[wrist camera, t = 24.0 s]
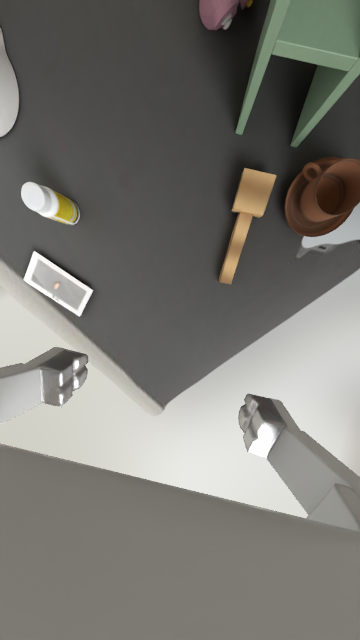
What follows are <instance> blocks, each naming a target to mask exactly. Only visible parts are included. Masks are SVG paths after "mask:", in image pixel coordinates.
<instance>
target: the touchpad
mask: <svg viewBox="0 0 360 640" xmlns="http://www.w3.org/2000/svg"><path fill="white" fill-rule="evenodd" d="M24 281H25V282H27V283H28V284H30V285H31V286H33V287H34V288H36V289H38V290H39V291H41V292H42V293H44V294H45V295H47V296H48V297H50V298H52V299H53V300H55V301H56V302H58V303H59V304H61V305H62V306H64V307H65V308H67V309H69V310H70V311H72V312H73V313H75V314H76V315H78V316H79V317H80V315H81V313H82V311H83V309H84V307H85V306H86V304H87V302H88V300H89V298H90V296H91V294H92V292H93V290H92V289H90V288H89V287H87V286H86V285H84V284H83V283H81V282H80V281H78V280H77V279H75V278H74V277H72V276H71V275H69V274H68V273H67V272H65V271H64V270H62V269H61V268H59V267H58V266H56V265H55V264H53V263H52V262H50V261H49V260H47V259H46V258H44V257H43V256H41V255H40V254H38V253H37V252H35V251H34V252H33V255H32V258H31V261H30V263H29V266H28V269H27V272H26V274H25V277H24Z"/></svg>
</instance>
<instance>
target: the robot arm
mask: <svg viewBox="0 0 360 640" xmlns="http://www.w3.org/2000/svg"><path fill="white" fill-rule="evenodd" d="M18 108H19V91H18V85H17V80H16V76H15V73H14V70H13V68H12V65H11V63H10V61H9V59H8V56H7V54H6V51H5V45H4V39H3V34H2V30H1V27H0V137H2V136H4V135H5V134H7V133H8V132H9V131H10V129H11V128H12V127H13V125H14V123H15V121H16V118H17V114H18ZM87 363H88V356H87V355H86V354H83V353H79V352H75V351H71V350H68V349H64V348H59V347H54V348H52V349H50V350H49V351H47V352H45V353H43V354H42V355H40V356H38V357H36V358H34V359H33V360H31V361H29V362H27V363H25V364H23V363H20V364H15V365H10V366H6V367H2V368H0V424H2V423H4V422H6V421H8V420H10V419H12V418H14V417H16V416H18V415H21V414H22V413H24V412H26V411H29V410H31V409H32V408H35V407H37V406H39V405H40V404H42V403H45V404H50V405H54V406H59V407H62V406H63V405H64V404H65V403H66V401H68V399H69V398H70V397H71V396H72V391H75V390H77V389H79V388H80V387H81V386H82V385H83V383H84V381H85V380H86V377H87V371H88V370H87V368H86V366H85V364H87ZM244 400H245V403H246V404H245V405H243V406H242V407H241V409H240V411H239V425H240V428H241V429H242V430H243V432H244V433H245V434H244V436H243V438H244V442H245V445H246V449H247V452H249V453H252V454H256V455H259V456H263V457H266V458H267V460H268V461H269V462H270V464H271V465H272V466H273V468H274V469H275V470H276V472H277V473H278V474H279V476H280V477H281V479H282V480H283V481H284V482H285V484H286V485H287V486H288V488H289V489H290V491H291V492H292V493H293V495H294V496H295V497H296V499H297V500H298V501H299V503H300V504H301V505H302V507H303V508H304V510H305V511H306V512H307V514H308V515H309V516H308V517H307V518H306V519H305V518H301V517H297V516H293V515H289V514H285V513H281V512H277V511H272V510H269V509H265V508H261V507H256V506H252V505H248V504H244V503H240V502H236V501H232V500H228V499H224V498H219V497H215V496H211V495H207V494H203V493H199V492H195V491H191V490H187V489H183V488H178V487H174V486H170V485H166V484H162V483H158V482H153V481H150V480H146V479H141V478H138V477H133V476H130V475H126V474H122V473H118V472H113V471H109V470H105V469H101V468H97V467H93V466H89V465H85V464H81V463H77V462H73V461H69V460H65V459H60V458H57V457H53V456H48V455H44V454H40V453H36V452H32V451H28V450H24V449H20V448H16V447H11V446H7V445H4V444H0V640H360V477H359V476H358V475H356V474H355V473H354V472H353V471H352V470H350V469H349V468H348V467H347V466H345V465H344V464H343V463H342V462H340V461H339V460H338V459H337V458H336V457H334V456H333V455H332V454H331V453H330V452H328V451H327V450H326V449H325V448H324V447H322V446H321V445H320V444H319V443H317V442H316V441H315V440H314V439H312V438H311V437H310V436H309V435H308V434H306V433H305V432H303V431H300V429H299V428H298V426H297V425H296V423H295V422H294V420H293V419H292V417H291V416H290V414H289V413H288V411H287V410H286V408H285V407H284V405H283V404H282V402H281V401H279V400H276V399H271V398H265V397H260V396H256V395H252V394H247V395H246V397H245V399H244Z"/></svg>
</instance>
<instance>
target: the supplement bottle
mask: <svg viewBox="0 0 360 640" xmlns="http://www.w3.org/2000/svg"><path fill="white" fill-rule="evenodd" d="M21 196H22V199H23V201H24V203H25V204H26V206H27V207H28V208H30V209H31V210H34V211H36V212H38V213H39V214H41V215H42V216H44V217H47V218H50V219H53V220H56V221H59V222H61V223H64V224H67V225H74V224H76V223H77V222H78V221H79V218H80V211H79V208H78V206H77V205H76V204H75V203H74V202H73V201H72V200H70V199H68V198H66V197H65V196H63V195H61V194H59V193H57V192H55V191H54V190H52V189H50V188H48V187H45V186H40V185H38V184H36V183H33V182H27V183H25V184H24V185H23V187H22V190H21Z"/></svg>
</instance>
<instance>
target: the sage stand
mask: <svg viewBox="0 0 360 640" xmlns="http://www.w3.org/2000/svg"><path fill="white" fill-rule="evenodd" d="M271 53H272V54H273V55H277V56H281V57H286V58H290V59H295V60H299V61H304V62H308V63H313V64H317V65H318V66H317V68H316V71H315V74H314V77H313V80H312V83H311V86H310V89H309V92H308V95H307V98H306V101H305V104H304V106H303V109H302V112H301V115H300V118H299V121H298V124H297V127H296V130H295V133H294V136H293V139H292V142H291V145H290V146H292V147H298V145H299V144H300V143H301V142H302V141H303V139H304V138H305V137H306V136H307V135H308V134H309V132H310V131H311V130H312V129H313V128H314V127H315V125H316V124H317V123H318V122H319V121H320V120H321V118H322V117H323V116H324V115H325V114H326V112H327V111H328V110H329V109H330V108H331V107H332V105H333V104H334V103H335V102H336V101H337V100H338V98H339V97H340V96H341V95H342V94H343V93H344V91H345V90H346V89H347V88H348V87H349V85H350V84H351V83H352V82H353V81H354V80H355V78H356V77H357V76H358V75H359V74H360V0H271V1H270V5H269V8H268V11H267V15H266V18H265V22H264V25H263V29H262V32H261V36H260V39H259V43H258V46H257V50H256V53H255V57H254V61H253V65H252V69H251V73H250V77H249V81H248V85H247V89H246V93H245V97H244V101H243V105H242V109H241V113H240V117H239V121H238V125H237V129H236V134H240V135H242V133H243V131H244V128H245V125H246V122H247V119H248V117H249V114H250V111H251V108H252V106H253V103H254V100H255V97H256V95H257V92H258V89H259V86H260V83H261V81H262V78H263V75H264V72H265V70H266V67H267V64H268V61H269V59H270V56H271Z"/></svg>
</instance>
